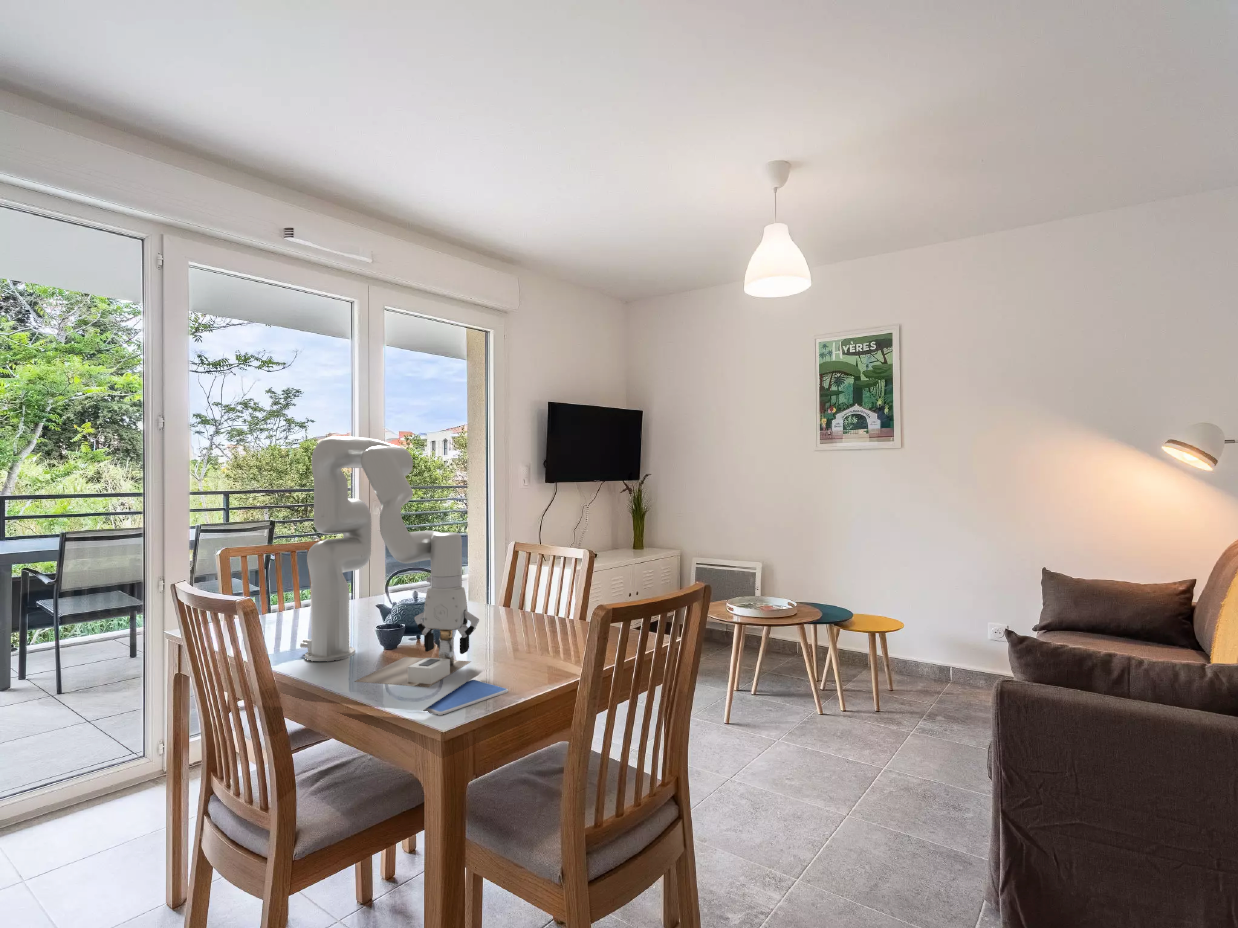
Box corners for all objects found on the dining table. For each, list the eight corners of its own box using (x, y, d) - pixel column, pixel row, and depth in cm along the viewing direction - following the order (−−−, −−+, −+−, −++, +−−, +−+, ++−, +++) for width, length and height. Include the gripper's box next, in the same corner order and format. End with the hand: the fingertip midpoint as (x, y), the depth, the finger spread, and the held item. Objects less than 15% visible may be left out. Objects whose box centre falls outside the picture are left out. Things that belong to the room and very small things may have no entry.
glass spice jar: (436, 666, 164) (436, 628, 164) (443, 662, 167) (443, 624, 167) (449, 667, 163) (449, 628, 163) (456, 663, 166) (456, 625, 167)
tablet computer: (473, 683, 157) (473, 677, 157) (510, 693, 149) (510, 687, 149) (402, 706, 141) (403, 700, 142) (440, 719, 134) (440, 712, 134)
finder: (408, 681, 152) (407, 665, 152) (427, 671, 159) (427, 656, 159) (430, 684, 150) (430, 667, 150) (449, 673, 158) (449, 658, 158)
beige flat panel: (354, 687, 152) (354, 681, 152) (404, 662, 173) (404, 656, 173) (428, 693, 148) (428, 686, 148) (471, 667, 168) (471, 661, 168)
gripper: (407, 583, 164) (407, 653, 164) (471, 585, 160) (471, 657, 159) (423, 578, 171) (423, 645, 171) (484, 580, 167) (485, 649, 167)
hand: (446, 651), depth 165 cm, fingers open, 9 cm apart
